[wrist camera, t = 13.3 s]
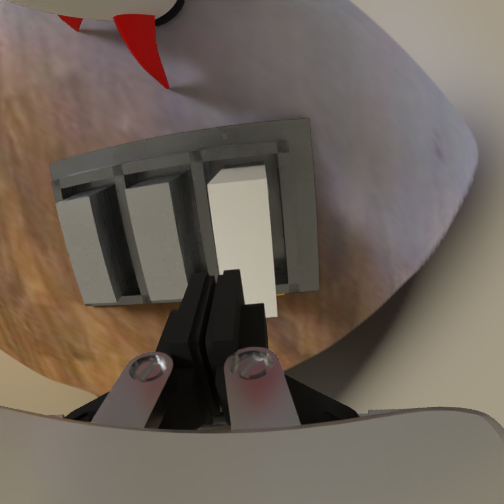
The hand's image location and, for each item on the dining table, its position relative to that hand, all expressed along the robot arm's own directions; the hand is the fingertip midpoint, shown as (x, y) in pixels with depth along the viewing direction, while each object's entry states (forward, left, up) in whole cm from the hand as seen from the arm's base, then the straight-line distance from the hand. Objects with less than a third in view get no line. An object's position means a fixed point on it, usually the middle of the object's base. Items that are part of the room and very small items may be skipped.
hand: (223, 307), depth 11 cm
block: (+1, 0, -14) cm, 14 cm away
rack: (+1, -5, -15) cm, 16 cm away
